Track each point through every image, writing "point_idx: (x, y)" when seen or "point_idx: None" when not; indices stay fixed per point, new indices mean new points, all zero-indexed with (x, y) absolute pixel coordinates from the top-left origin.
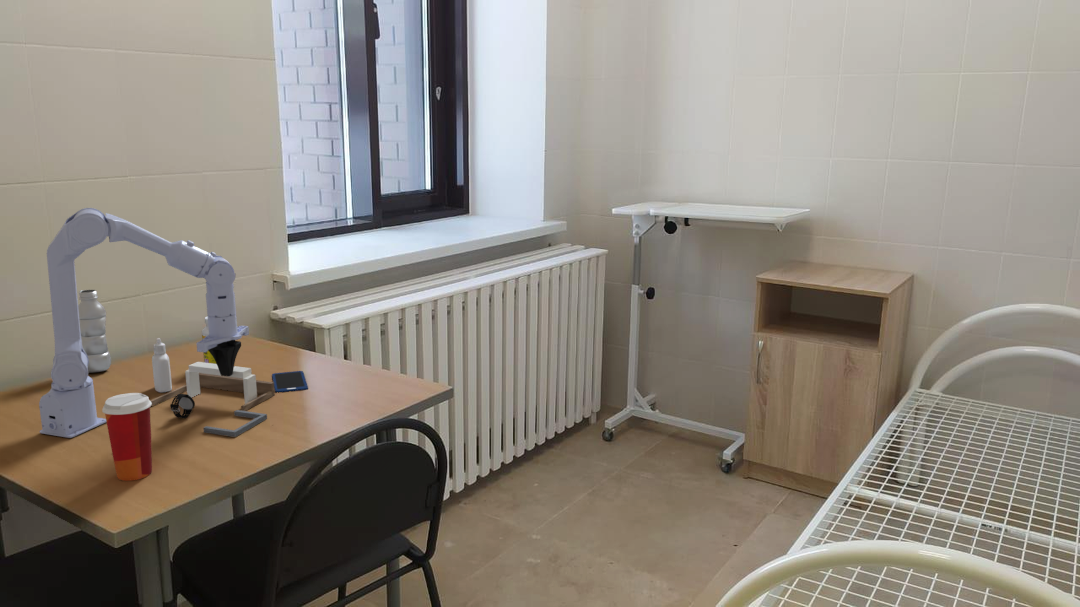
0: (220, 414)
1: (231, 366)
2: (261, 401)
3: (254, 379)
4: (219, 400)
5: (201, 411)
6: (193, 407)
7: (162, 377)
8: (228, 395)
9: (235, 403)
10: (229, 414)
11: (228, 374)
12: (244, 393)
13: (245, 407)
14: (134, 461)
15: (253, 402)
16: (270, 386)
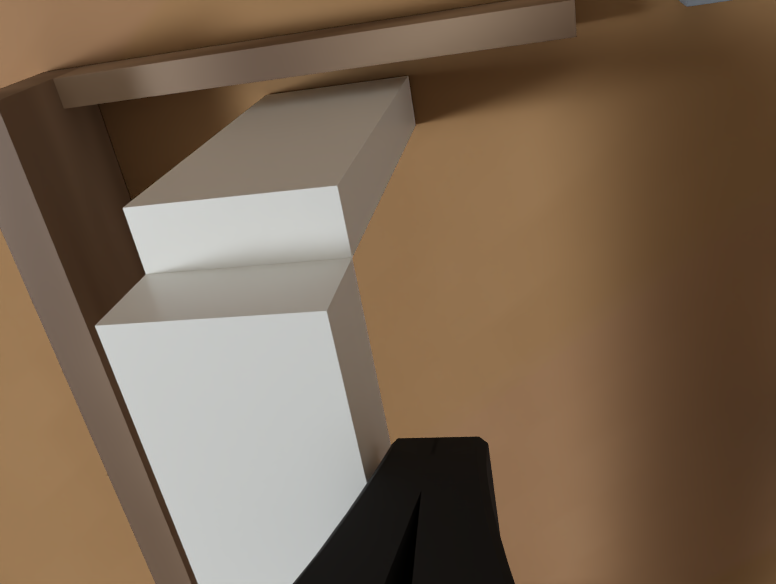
0: (733, 167)
1: (408, 533)
2: (252, 41)
3: (183, 180)
4: (423, 413)
5: (717, 375)
6: None
7: None
8: None
9: (413, 250)
10: (702, 80)
11: (486, 457)
12: (392, 165)
13: (538, 2)
14: None
15: (383, 25)
16: (23, 104)
